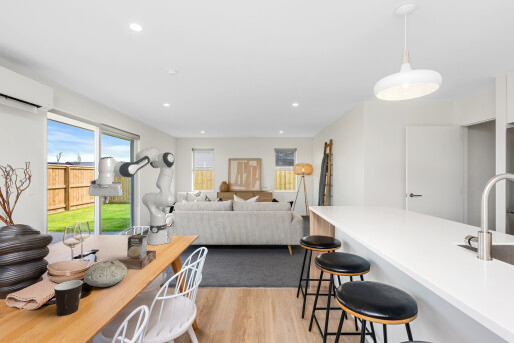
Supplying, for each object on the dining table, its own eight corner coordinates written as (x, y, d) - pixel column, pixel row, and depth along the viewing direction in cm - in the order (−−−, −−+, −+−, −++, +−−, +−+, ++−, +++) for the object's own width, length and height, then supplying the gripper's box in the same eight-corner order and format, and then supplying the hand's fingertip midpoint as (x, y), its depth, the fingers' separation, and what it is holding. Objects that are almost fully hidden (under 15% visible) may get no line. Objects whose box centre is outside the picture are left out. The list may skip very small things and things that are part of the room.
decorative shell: (135, 278, 125) (135, 258, 125) (105, 294, 107) (106, 271, 108) (106, 274, 129) (106, 255, 129) (73, 289, 112) (74, 267, 112)
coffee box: (126, 265, 143) (126, 237, 144) (132, 261, 150) (132, 234, 150) (141, 265, 143) (142, 237, 143) (146, 261, 149) (147, 235, 150)
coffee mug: (63, 305, 98) (64, 280, 98) (86, 305, 98) (87, 279, 99) (40, 323, 86) (41, 294, 86) (66, 322, 87) (67, 293, 87)
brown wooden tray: (125, 259, 156) (125, 250, 156) (155, 260, 155) (155, 250, 155) (107, 270, 137) (107, 259, 137) (141, 271, 137) (141, 260, 137)
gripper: (124, 181, 162) (124, 202, 161) (93, 181, 162) (93, 202, 162) (119, 182, 155) (118, 204, 155) (87, 181, 156) (86, 203, 155)
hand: (105, 203), depth 158 cm, fingers closed
